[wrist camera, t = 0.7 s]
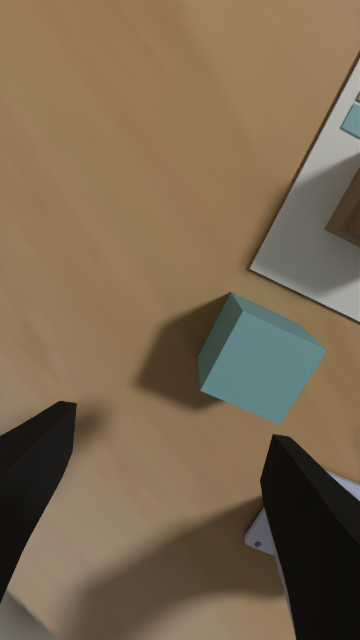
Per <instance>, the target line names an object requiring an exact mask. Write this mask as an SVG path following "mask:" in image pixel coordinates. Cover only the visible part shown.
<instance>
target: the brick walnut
mask: <svg viewBox="0 0 360 640" xmlns="http://www.w3.org/2000/svg"><path fill="white" fill-rule="evenodd" d="M324 230H326V231H328V232H330V233H332V234H334V235H336V236H338V237H340V238H342V239H344V240H346V241H348V242H350V243H352V244H354V245H356V246H358V247H360V167H359V169H358V171H357V172H356V174H355V176H354V178H353V179H352V181H351V183H350V185H349V187H348V188H347V190H346V192H345V194H344V195H343V197H342V199H341V201H340V202H339V204H338V206H337V208H336V209H335V211H334V213H333V215H332V216H331V218H330V220H329V222H328V223H327V225H326V227H325V229H324Z"/></svg>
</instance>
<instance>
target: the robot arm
mask: <svg viewBox="0 0 360 640" xmlns="http://www.w3.org/2000/svg"><path fill="white" fill-rule="evenodd" d="M76 406H77V403H71V402H64V401H59V402H57V403H55V404H54V405H52V406H50V407H49V408H47V409H46V410H44V411H42V412H41V413H39V414H38V415H36V416H34V417H33V418H31V419H29V420H28V421H26V422H25V423H23V424H21V425H20V426H18V427H16V428H14V429H12V430H10V431H9V432H7V433H5V434H3V435H1V436H0V603H1V601H2V598H3V595H4V593H5V591H6V589H7V586H8V584H9V582H10V579H11V577H12V575H13V572H14V570H15V568H16V565H17V563H18V561H19V559H20V556H21V554H22V552H23V550H24V548H25V546H26V544H27V542H28V540H29V538H30V536H31V534H32V532H33V530H34V528H35V527H36V525H37V523H38V521H39V519H40V517H41V516H42V514H43V512H44V510H45V508H46V506H47V505H48V503H49V501H50V499H51V497H52V496H53V494H54V492H55V490H56V488H57V486H58V484H59V483H60V481H61V479H62V477H63V474H64V472H65V469H66V467H67V464H68V462H69V459H70V457H71V454H72V451H73V440H74V428H75V417H76ZM260 483H261V490H262V497H263V503H264V508H263V509H262V511H261V512H260V514H259V515H258V517H257V518H256V520H255V521H254V523H253V524H252V526H251V527H250V529H249V530H248V532H247V533H246V535H245V537H244V539H245V543H246V545H248V546H250V547H252V548H255V549H258V550H260V551H263V552H265V553H268V554H271V555H273V556H275V559H276V563H277V567H278V571H279V575H280V578H281V582H282V586H283V590H284V594H285V597H286V601H287V605H288V609H289V613H290V616H291V620H292V624H293V628H294V632H295V635H296V640H360V485H359V484H357V483H355V482H352V481H350V480H347V479H345V478H343V477H340V476H338V475H336V474H333V473H331V472H329V471H326V470H324V469H323V468H322V467H321V466H320V465H319V464H318V463H317V462H316V461H315V460H314V459H313V458H312V457H311V456H310V455H309V454H308V453H307V452H306V451H305V450H304V449H302V448H301V447H300V446H299V445H298V444H297V443H296V442H295V441H294V440H293V439H292V438H290V437H288V436H282V435H275V434H273V436H272V439H271V443H270V446H269V450H268V454H267V457H266V461H265V465H264V468H263V472H262V475H261V479H260ZM257 541H259V542H257Z"/></svg>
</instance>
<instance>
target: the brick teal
mask: <svg viewBox="0 0 360 640" xmlns="http://www.w3.org/2000/svg"><path fill="white" fill-rule="evenodd" d="M326 352H327V349H326V348H325V347H323V346H322V345H321V344H320V343H319V342H318V341H317V340H316V339H315V338H314V337H312V336H311V335H310V334H309V333H308V332H307V331H306V330H305V329H304V328H303V327H301V326H300V325H299V324H298V323H296V322H294V321H292V320H290V319H288V318H286V317H283V316H281V315H279V314H277V313H275V312H273V311H271V310H268V309H266V308H264V307H262V306H260V305H258V304H256V303H253V302H251V301H249V300H247V299H245V298H243V297H241V296H238V295H236V294H234V293H232V292H231V293H230V295H229V297H228V299H227V301H226V303H225V305H224V307H223V308H222V310H221V312H220V314H219V316H218V318H217V320H216V322H215V324H214V326H213V328H212V330H211V332H210V334H209V336H208V337H207V339H206V341H205V343H204V345H203V347H202V349H201V351H200V353H199V355H198V368H199V380H200V391H202V392H205V393H207V394H209V395H212V396H214V397H216V398H219V399H221V400H223V401H225V402H228V403H230V404H232V405H235V406H237V407H239V408H242V409H244V410H246V411H249V412H251V413H253V414H256V415H258V416H260V417H263V418H265V419H267V420H270V421H272V422H274V423H277V424H279V425H281V423H282V421H283V420H284V418H285V417H286V415H287V413H288V412H289V410H290V409H291V407H292V405H293V404H294V402H295V401H296V399H297V398H298V396H299V394H300V393H301V391H302V390H303V388H304V386H305V385H306V383H307V382H308V380H309V379H310V377H311V375H312V374H313V372H314V371H315V369H316V367H317V366H318V364H319V363H320V361H321V359H322V358H323V356H324V355H325V353H326Z"/></svg>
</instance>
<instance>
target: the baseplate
mask: <svg viewBox="0 0 360 640" xmlns="http://www.w3.org/2000/svg"><path fill="white" fill-rule="evenodd" d="M359 167H360V58H359V60H358V62H357V64H356V66H355V67H354V69H353V71H352V73H351V75H350V77H349V79H348V81H347V83H346V85H345V87H344V88H343V90H342V92H341V94H340V96H339V98H338V100H337V102H336V104H335V106H334V108H333V109H332V111H331V113H330V115H329V117H328V119H327V121H326V123H325V125H324V127H323V129H322V130H321V132H320V134H319V136H318V138H317V140H316V142H315V144H314V146H313V148H312V150H311V151H310V153H309V155H308V157H307V159H306V161H305V163H304V165H303V167H302V169H301V171H300V172H299V174H298V176H297V178H296V180H295V182H294V184H293V186H292V188H291V190H290V192H289V193H288V195H287V197H286V199H285V201H284V203H283V205H282V207H281V209H280V211H279V213H278V214H277V216H276V218H275V220H274V222H273V224H272V226H271V228H270V230H269V232H268V234H267V235H266V237H265V239H264V241H263V243H262V245H261V247H260V249H259V251H258V253H257V254H256V256H255V258H254V260H253V262H252V264H251V266H250V268H249V269H251V270H253V271H255V272H257V273H259V274H261V275H264V276H266V277H268V278H270V279H272V280H274V281H276V282H278V283H280V284H282V285H284V286H286V287H289V288H291V289H293V290H295V291H297V292H299V293H301V294H303V295H305V296H307V297H309V298H311V299H313V300H316V301H318V302H320V303H322V304H324V305H326V306H328V307H330V308H332V309H334V310H336V311H338V312H341V313H343V314H345V315H347V316H349V317H351V318H353V319H355V320H357V321H359V322H360V247H358V246H356V245H354V244H352V243H350V242H348V241H346V240H344V239H342V238H340V237H338V236H336V235H334V234H332V233H330V232H328V231H326V230H324V229H325V227H326V225H327V223H328V222H329V220H330V218H331V216H332V215H333V213H334V211H335V209H336V208H337V206H338V204H339V202H340V201H341V199H342V197H343V195H344V194H345V192H346V190H347V188H348V187H349V185H350V183H351V181H352V179H353V178H354V176H355V174H356V172H357V171H358V169H359Z"/></svg>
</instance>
